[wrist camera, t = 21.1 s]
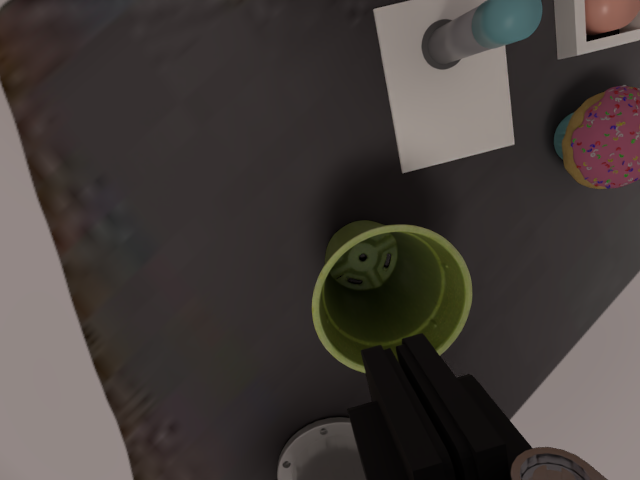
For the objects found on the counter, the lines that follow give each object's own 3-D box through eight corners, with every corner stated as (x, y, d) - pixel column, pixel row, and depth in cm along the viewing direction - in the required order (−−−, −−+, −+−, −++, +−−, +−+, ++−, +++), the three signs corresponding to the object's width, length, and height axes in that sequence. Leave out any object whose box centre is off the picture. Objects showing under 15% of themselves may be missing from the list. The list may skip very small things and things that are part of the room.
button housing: (628, 42, 39) (652, 36, 36) (557, 59, 38) (576, 55, 36) (627, -44, 37) (652, -56, 34) (552, -26, 36) (572, -37, 34)
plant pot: (286, 215, 39) (293, 250, 28) (407, 182, 40) (461, 205, 29) (316, 325, 42) (333, 395, 32) (427, 294, 43) (482, 352, 32)
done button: (619, 29, 38) (642, 22, 35) (573, 40, 38) (594, 34, 35) (617, -26, 36) (642, -36, 34) (570, -14, 36) (592, -24, 34)
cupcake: (554, 81, 39) (675, 63, 27) (631, 102, 40) (777, 94, 29) (523, 173, 41) (624, 192, 29) (598, 190, 42) (722, 215, 31)
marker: (464, 59, 37) (544, 34, 26) (430, 68, 37) (497, 45, 26) (459, 21, 36) (540, -21, 25) (425, 30, 36) (491, -9, 25)
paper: (512, 144, 40) (515, 144, 39) (402, 172, 39) (403, 173, 39) (496, -20, 36) (499, -21, 35) (373, 9, 35) (374, 8, 35)
